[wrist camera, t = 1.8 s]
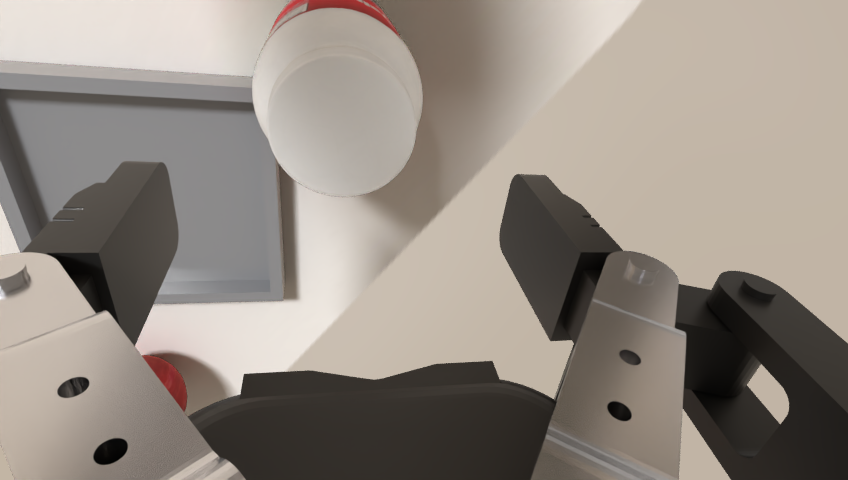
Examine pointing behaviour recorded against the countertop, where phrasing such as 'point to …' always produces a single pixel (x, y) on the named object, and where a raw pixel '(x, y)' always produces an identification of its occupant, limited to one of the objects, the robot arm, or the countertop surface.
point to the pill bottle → (337, 96)
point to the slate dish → (150, 142)
